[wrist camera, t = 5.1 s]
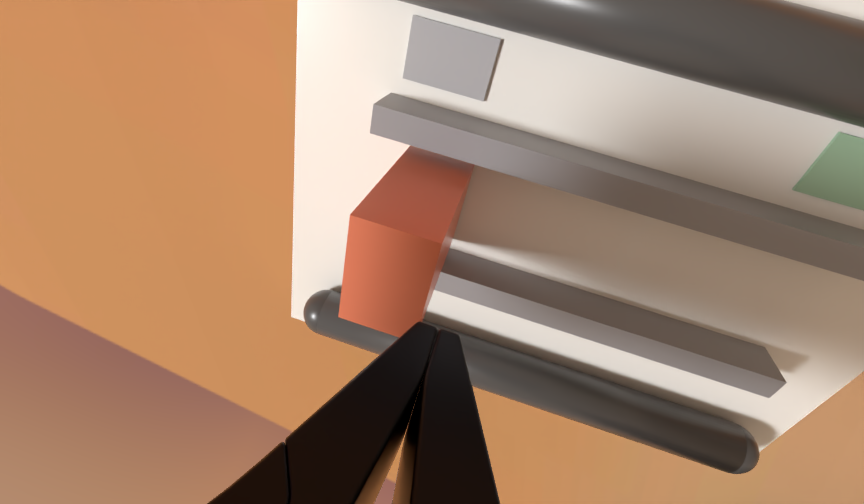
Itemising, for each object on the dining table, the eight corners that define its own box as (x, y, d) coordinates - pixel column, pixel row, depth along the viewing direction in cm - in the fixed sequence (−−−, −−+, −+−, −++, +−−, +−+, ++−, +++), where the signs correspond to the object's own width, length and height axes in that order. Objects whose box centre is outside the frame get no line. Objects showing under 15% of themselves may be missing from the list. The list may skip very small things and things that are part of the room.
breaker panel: (1121, 40, 10) (1443, 68, 6) (717, 416, 19) (757, 513, 15) (345, -152, 11) (254, -217, 8) (316, 284, 20) (269, 345, 17)
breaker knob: (476, 160, 12) (441, 244, 8) (452, 240, 14) (414, 342, 10) (413, 141, 13) (349, 215, 8) (397, 223, 14) (338, 317, 10)
